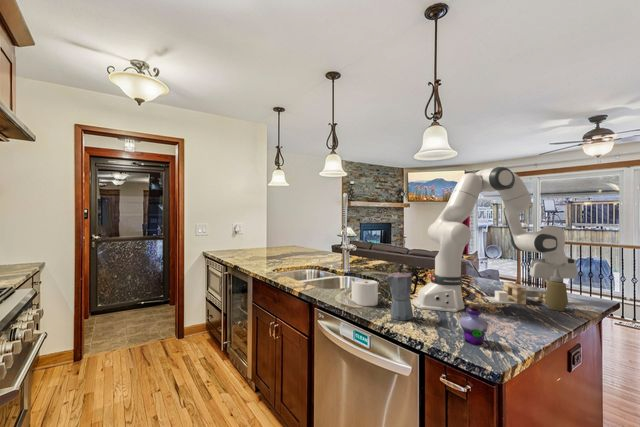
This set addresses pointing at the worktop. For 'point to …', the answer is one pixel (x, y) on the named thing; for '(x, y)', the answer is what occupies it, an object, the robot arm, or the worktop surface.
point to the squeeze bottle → (556, 293)
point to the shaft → (535, 293)
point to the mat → (499, 301)
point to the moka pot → (401, 294)
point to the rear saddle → (541, 299)
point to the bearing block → (515, 292)
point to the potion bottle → (474, 326)
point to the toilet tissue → (365, 292)
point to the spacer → (501, 295)
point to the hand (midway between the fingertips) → (553, 287)
